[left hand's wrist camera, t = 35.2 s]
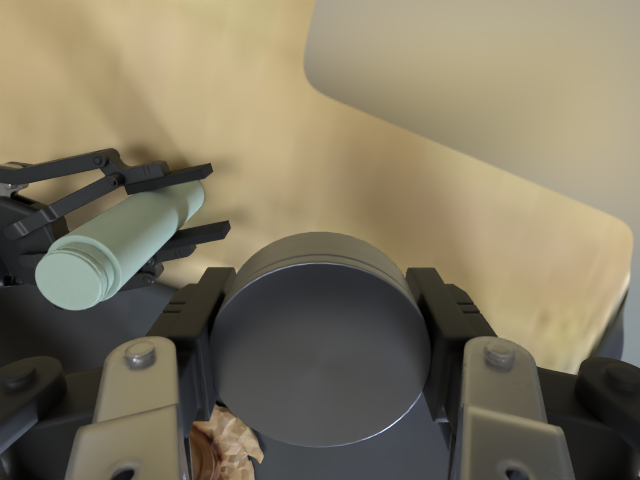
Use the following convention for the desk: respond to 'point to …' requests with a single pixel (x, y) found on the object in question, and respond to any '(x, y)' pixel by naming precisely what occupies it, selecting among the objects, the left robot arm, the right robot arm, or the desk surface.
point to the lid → (319, 341)
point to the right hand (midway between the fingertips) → (216, 200)
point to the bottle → (114, 245)
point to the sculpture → (223, 447)
